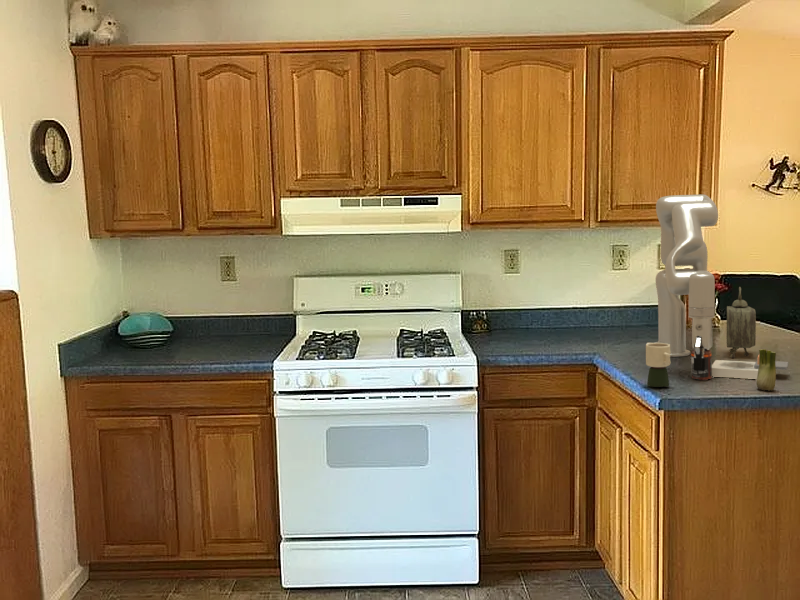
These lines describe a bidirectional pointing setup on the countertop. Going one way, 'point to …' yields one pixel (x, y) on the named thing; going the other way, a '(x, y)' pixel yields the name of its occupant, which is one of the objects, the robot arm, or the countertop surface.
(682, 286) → the robot arm
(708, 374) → the supplement bottle
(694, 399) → the countertop surface
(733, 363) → the socket block
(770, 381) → the fennel bulb
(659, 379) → the character mug
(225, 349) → the countertop surface
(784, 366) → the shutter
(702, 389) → the countertop surface
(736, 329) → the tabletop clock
